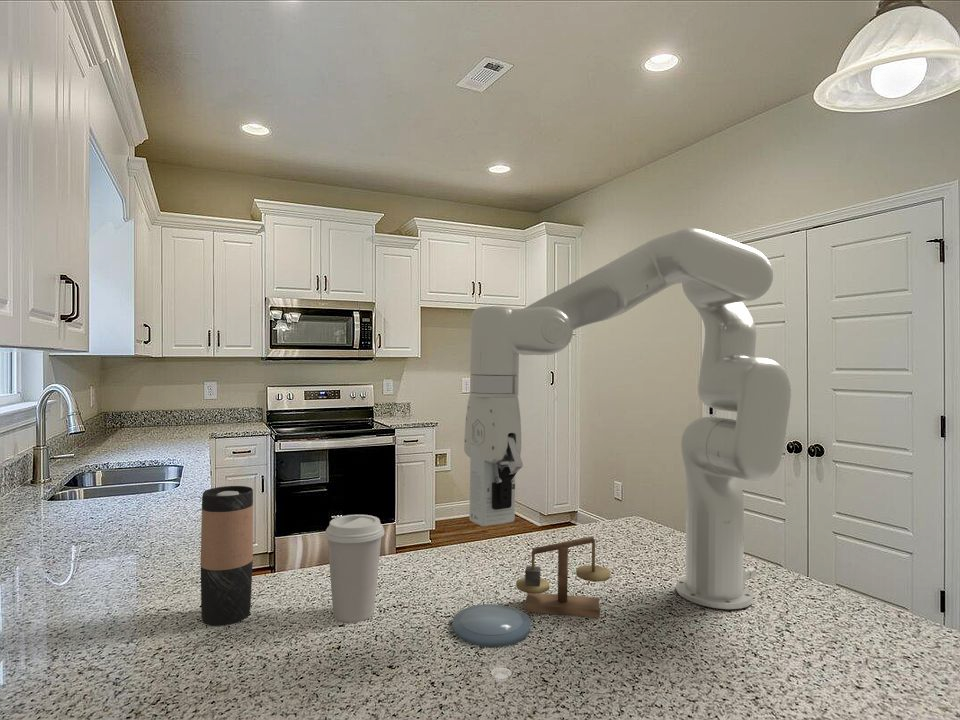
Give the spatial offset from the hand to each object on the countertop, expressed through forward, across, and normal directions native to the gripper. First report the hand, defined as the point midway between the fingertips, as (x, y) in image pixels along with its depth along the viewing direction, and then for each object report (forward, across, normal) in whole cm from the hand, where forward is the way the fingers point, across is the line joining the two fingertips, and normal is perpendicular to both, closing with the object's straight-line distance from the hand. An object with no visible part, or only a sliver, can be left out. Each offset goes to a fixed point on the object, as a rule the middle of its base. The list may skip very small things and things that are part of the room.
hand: (492, 503), depth 88 cm
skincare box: (+3, 0, 0) cm, 3 cm away
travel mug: (+19, -24, -35) cm, 47 cm away
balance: (+19, 0, +14) cm, 24 cm away
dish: (+19, 0, 0) cm, 19 cm away
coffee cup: (+19, -15, -17) cm, 30 cm away
